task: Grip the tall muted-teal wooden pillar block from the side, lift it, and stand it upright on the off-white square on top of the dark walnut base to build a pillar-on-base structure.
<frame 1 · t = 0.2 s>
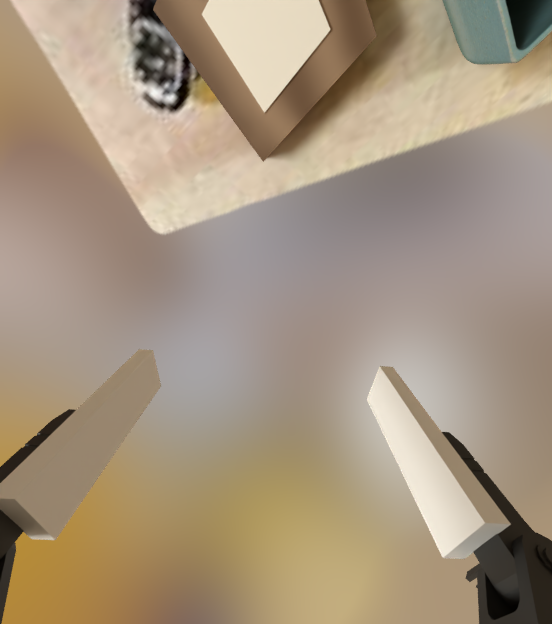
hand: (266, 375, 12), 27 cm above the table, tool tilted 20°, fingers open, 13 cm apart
walnut base: (268, 33, 20), on the table
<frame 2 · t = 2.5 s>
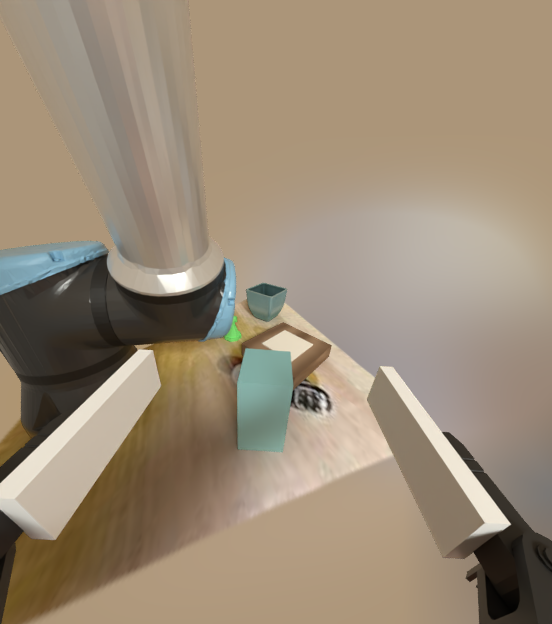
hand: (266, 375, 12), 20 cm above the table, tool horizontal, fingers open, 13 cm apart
teal pillar block: (261, 429, 29), on the table
flower pot: (265, 317, 61), on the table
walnut base: (286, 355, 45), on the table
game piece: (232, 337, 50), on the table
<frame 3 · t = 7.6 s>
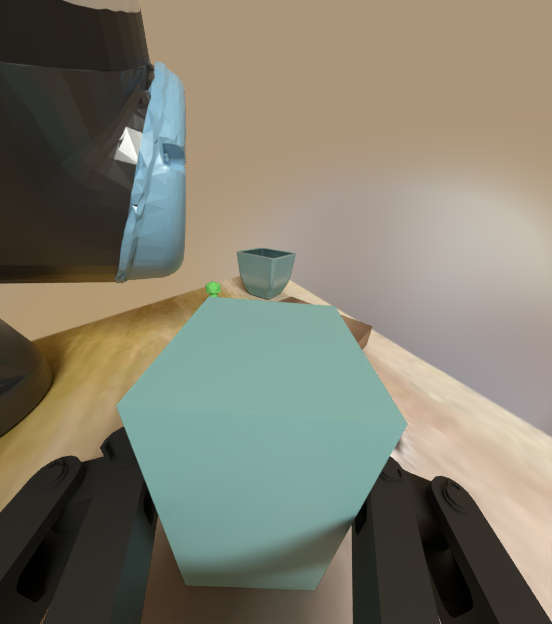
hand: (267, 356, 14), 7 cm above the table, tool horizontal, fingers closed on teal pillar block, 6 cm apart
teal pillar block: (256, 504, 12), on the table, touching gripper
flower pot: (264, 295, 44), on the table
walnut base: (298, 343, 28), on the table
game piece: (214, 317, 33), on the table
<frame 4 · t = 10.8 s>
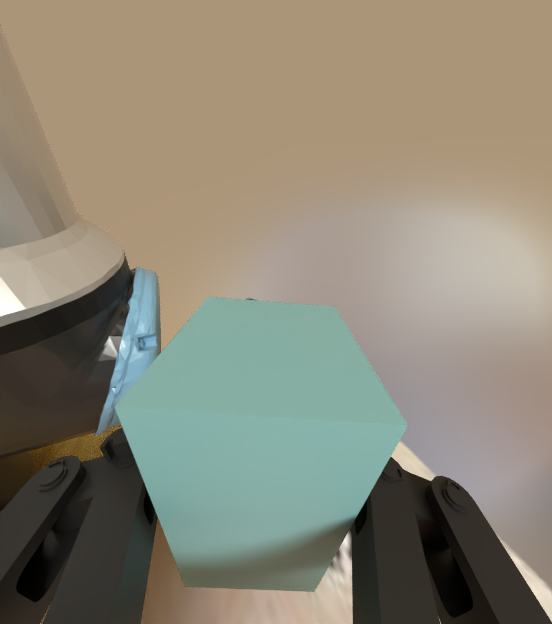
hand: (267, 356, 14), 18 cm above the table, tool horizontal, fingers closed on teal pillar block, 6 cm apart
teal pillar block: (256, 505, 12), point 11 cm above the table, touching gripper
when the fingers open (12 cm above the table, at t = 13.8 s): teal pillar block drops 1 cm, resting on walnut base.
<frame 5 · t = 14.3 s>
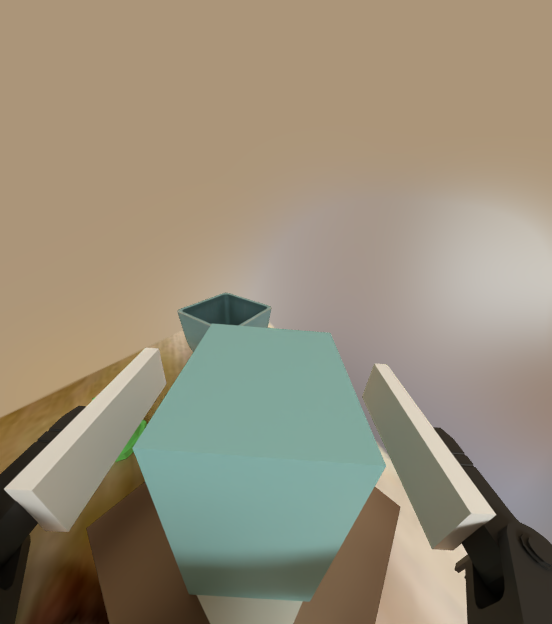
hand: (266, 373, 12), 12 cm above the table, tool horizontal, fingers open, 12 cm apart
teal pillar block: (256, 516, 13), point 3 cm above the table, touching walnut base
flower pot: (228, 363, 30), on the table
walnut base: (254, 536, 14), on the table
game piece: (122, 441, 19), on the table
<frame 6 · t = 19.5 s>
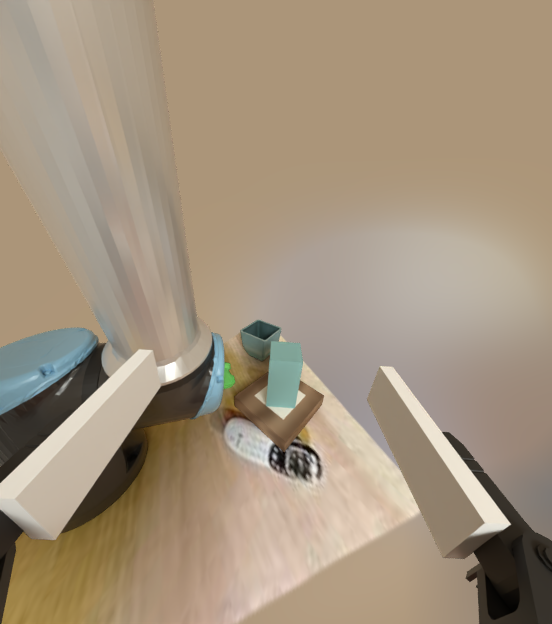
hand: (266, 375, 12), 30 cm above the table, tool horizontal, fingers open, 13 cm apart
teal pillar block: (280, 395, 44), point 3 cm above the table, touching walnut base
flower pot: (259, 354, 62), on the table
walnut base: (279, 405, 45), on the table
game piece: (226, 382, 51), on the table
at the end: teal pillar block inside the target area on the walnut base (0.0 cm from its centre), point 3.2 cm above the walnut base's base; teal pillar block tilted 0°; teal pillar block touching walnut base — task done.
